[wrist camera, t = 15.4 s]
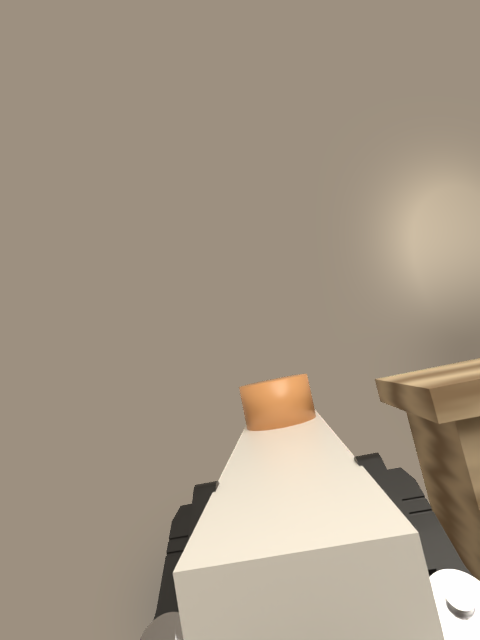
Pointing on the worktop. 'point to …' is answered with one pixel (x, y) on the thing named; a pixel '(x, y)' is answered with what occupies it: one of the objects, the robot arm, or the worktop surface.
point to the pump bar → (301, 539)
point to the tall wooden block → (446, 445)
